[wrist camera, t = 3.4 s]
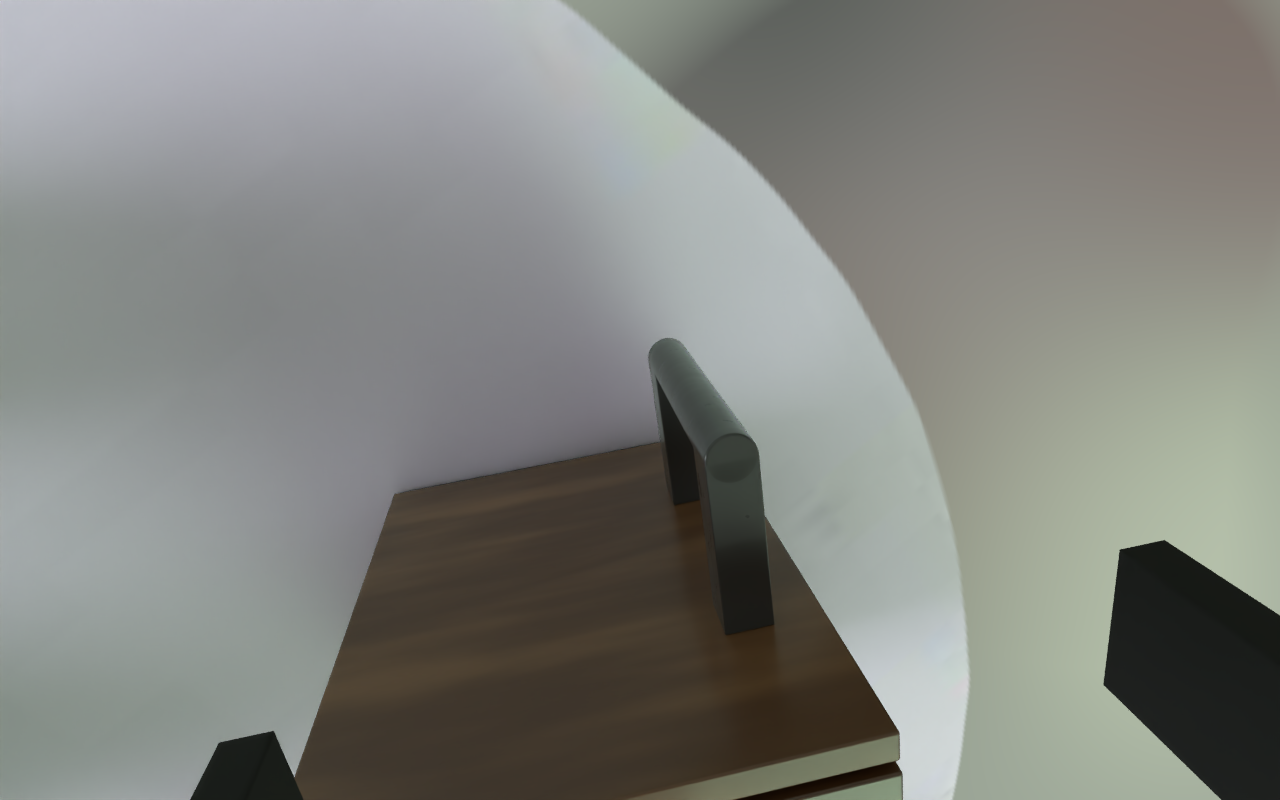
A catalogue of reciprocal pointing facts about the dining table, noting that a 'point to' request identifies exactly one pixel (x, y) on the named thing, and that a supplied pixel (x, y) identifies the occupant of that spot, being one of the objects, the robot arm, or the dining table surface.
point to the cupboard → (845, 786)
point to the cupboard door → (594, 634)
